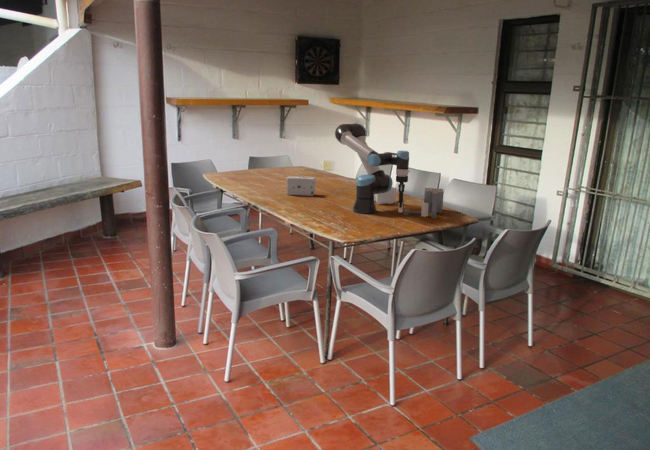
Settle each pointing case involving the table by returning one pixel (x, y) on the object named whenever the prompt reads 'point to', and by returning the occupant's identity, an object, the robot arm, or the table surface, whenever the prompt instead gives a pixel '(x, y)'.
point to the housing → (434, 200)
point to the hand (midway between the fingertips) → (400, 212)
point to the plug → (423, 212)
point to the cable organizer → (386, 197)
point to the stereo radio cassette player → (301, 185)
